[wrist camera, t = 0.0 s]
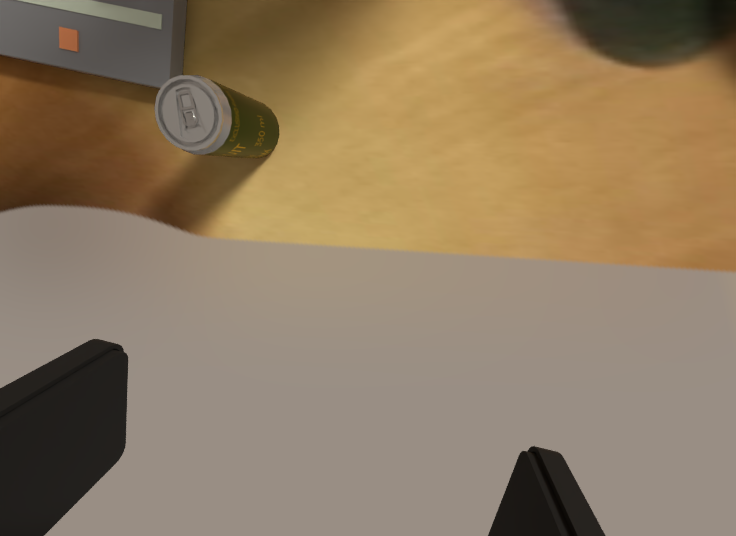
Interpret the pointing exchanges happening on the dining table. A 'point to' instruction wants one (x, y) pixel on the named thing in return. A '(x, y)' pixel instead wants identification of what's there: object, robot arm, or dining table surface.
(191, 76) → the beer can
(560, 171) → the dining table surface
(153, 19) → the panel
